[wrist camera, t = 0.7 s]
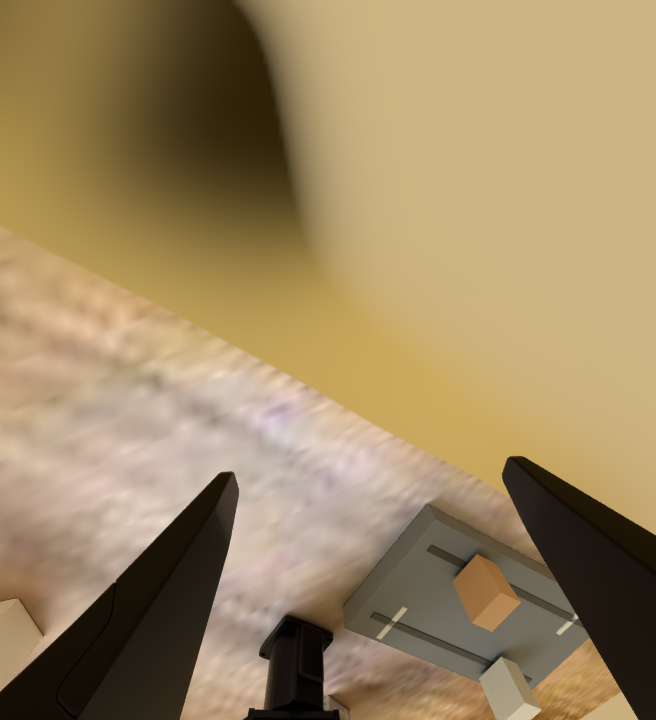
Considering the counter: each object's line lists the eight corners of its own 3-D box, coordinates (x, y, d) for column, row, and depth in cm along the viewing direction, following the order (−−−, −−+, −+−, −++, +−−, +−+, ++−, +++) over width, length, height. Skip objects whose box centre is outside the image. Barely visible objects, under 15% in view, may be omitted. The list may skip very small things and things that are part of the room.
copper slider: (469, 590, 27) (491, 631, 24) (452, 581, 27) (471, 622, 24) (494, 563, 27) (521, 602, 23) (476, 553, 26) (501, 592, 23)
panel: (510, 676, 35) (522, 700, 33) (343, 606, 30) (345, 629, 28) (597, 593, 32) (616, 614, 30) (426, 503, 27) (436, 520, 25)
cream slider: (494, 684, 31) (516, 732, 28) (478, 678, 31) (499, 726, 27) (516, 663, 30) (541, 709, 27) (501, 656, 30) (524, 702, 27)
